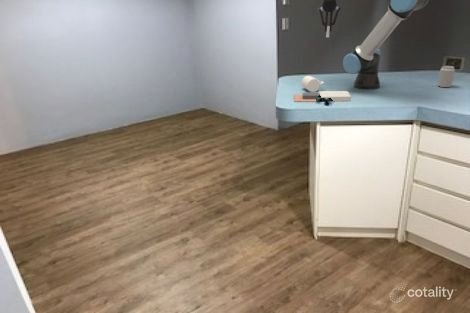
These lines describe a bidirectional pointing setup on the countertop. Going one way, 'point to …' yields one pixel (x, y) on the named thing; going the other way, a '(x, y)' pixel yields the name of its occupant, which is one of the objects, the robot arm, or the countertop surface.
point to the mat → (300, 99)
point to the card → (310, 95)
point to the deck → (336, 95)
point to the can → (446, 76)
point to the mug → (311, 83)
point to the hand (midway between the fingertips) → (327, 37)
